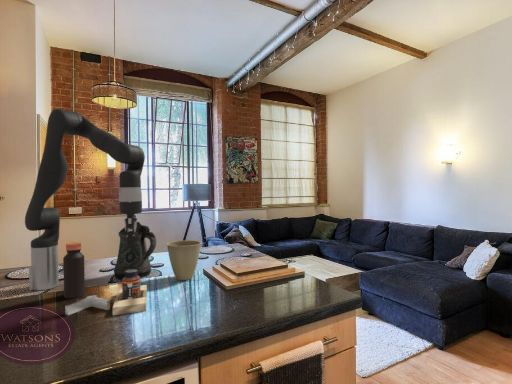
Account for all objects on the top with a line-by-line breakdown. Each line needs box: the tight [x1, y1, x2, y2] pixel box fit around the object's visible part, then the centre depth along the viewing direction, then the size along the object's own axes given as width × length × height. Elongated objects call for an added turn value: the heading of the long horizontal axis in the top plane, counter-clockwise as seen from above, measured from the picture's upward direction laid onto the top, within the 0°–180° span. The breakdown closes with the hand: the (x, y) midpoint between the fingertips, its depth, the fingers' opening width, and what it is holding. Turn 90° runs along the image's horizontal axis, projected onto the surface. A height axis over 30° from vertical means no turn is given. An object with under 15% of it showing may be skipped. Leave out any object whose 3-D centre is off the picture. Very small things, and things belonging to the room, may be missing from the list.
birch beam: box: [112, 284, 148, 316], centre depth 104 cm, size 10×20×2 cm, turn 20°
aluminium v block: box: [64, 294, 111, 316], centre depth 99 cm, size 13×8×3 cm, turn 110°
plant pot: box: [166, 239, 202, 281], centre depth 132 cm, size 15×15×16 cm
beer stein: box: [113, 221, 157, 281], centre depth 138 cm, size 16×19×25 cm
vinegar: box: [62, 242, 86, 300], centre depth 111 cm, size 7×7×20 cm
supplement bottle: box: [121, 269, 141, 300], centre depth 104 cm, size 6×6×11 cm
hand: (131, 245), depth 104 cm, fingers open, 8 cm apart
